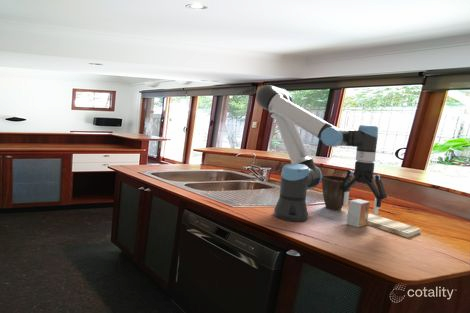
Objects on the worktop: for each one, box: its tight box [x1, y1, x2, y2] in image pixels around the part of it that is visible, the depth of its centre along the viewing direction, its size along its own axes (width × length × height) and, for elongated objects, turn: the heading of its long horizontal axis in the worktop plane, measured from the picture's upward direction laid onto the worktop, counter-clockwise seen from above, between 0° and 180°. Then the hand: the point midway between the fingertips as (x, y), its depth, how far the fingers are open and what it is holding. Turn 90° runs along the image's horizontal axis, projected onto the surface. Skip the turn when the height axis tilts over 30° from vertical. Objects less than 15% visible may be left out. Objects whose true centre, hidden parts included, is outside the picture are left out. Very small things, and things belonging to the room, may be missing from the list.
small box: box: [346, 198, 371, 228], centre depth 125 cm, size 8×6×10 cm
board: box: [366, 213, 421, 239], centre depth 126 cm, size 22×12×2 cm, turn 38°
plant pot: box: [321, 174, 353, 211], centre depth 148 cm, size 15×15×16 cm
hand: (359, 210), depth 125 cm, fingers open, 13 cm apart
